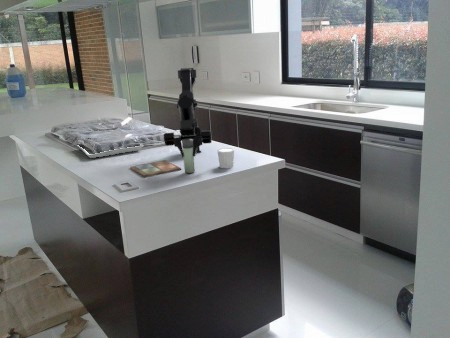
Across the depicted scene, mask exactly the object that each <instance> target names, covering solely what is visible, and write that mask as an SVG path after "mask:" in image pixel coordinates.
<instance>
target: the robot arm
mask: <svg viewBox="0 0 450 338" xmlns="http://www.w3.org/2000/svg"><path fill="white" fill-rule="evenodd" d="M177 78H178V80H179V81H180V84H181V93H180V94H179V95H178V100H177V102H176V107H177V109H178V111H179V114H180V117H179V118H180V120H179V134H175V133H174V131H173V132H165V133H163V141H164V145H165V146H174V147H175V148H177V149H178V150H179V152H180V154H181V157H182V158H184V157H183V148H182V139H187V138H191V139H193V156H194V157H195V156H196V154H199V153H202V150H200V146H203V144H205V145H206V144H211V143H212V132H211V130H202V129H201V128H200V126H199V123H198V118H195V109H196V108H197V107H198V104H199V103H198V101H197V100H196V99H197V98H196V99H195V95H194V90H193V88H194V86H195V84H196V79H197V78H198V76H197V69H194V67H183V68H180V70H177Z"/></svg>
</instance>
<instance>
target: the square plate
mask: <svg viewBox="0 0 450 338" xmlns="http://www.w3.org/2000/svg"><path fill="white" fill-rule="evenodd" d="M76 146H77V147H78V148H79V150H81V151H82V152H83V153H84V154H85V155H86V156H87V157H88V158H90V159H97V158H96V157H99V158H104V157H103V156H105V157H110V156H109V155H111V156H116V155H115V154H117V155H120V154H119V153H123V154H126V153H125V152H129V153H132V151H133V152H136V151H139V150H142V148H143V147H144V146H145V145H144V144H143V143H141V144H140V146H135V147H127V148H120V149H114V150H109V151H104V152H100V153H95V154H89V153H88V152H87V151H86V150H85V149H83V148H82V147H80V146H79V145H76Z"/></svg>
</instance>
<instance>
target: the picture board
mask: <svg viewBox="0 0 450 338" xmlns="http://www.w3.org/2000/svg"><path fill="white" fill-rule="evenodd" d="M129 169H130V170H132V171H133V172H135V173H136V174H138V175H139V176H141V177H143V178H148V177H153V176H159V175H163V174H167V173H173V172H176V171H177V172H178V171H181V170H182V168H181V167H179V166H177V165H176V164H174V163H172V162H170V161H168V160H166V159H163V160H159V161H153V162H148V163H143V164H142V163H141V164H138V165H133V166H130V168H129Z"/></svg>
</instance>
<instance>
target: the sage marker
mask: <svg viewBox="0 0 450 338" xmlns="http://www.w3.org/2000/svg"><path fill="white" fill-rule="evenodd" d="M181 144H182V149H183V157H182V158H183V164H184V165H183V167H184V172H185V173H186V174H191V173H194V172H195V171H196V170H195V169H196V168H195V156H193V139H191V138H187V139H182V141H181Z"/></svg>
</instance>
